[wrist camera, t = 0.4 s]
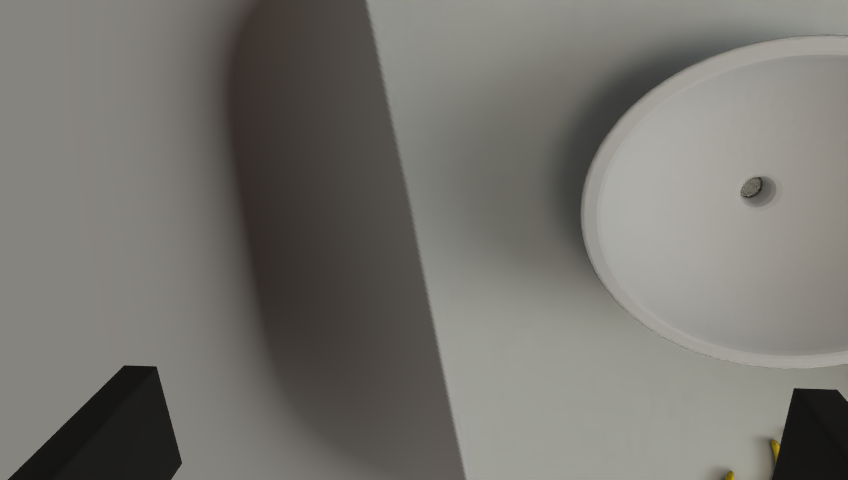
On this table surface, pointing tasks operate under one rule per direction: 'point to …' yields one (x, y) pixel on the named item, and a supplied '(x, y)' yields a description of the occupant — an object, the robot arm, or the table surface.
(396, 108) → the table surface
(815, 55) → the dish
